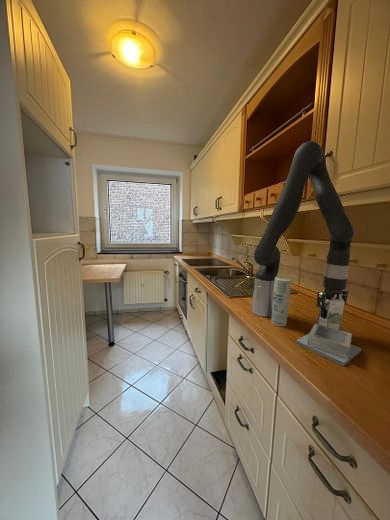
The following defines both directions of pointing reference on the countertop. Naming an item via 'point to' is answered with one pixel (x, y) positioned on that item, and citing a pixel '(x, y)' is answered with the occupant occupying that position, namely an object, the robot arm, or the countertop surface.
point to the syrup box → (332, 314)
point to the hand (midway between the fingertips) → (329, 316)
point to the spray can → (281, 301)
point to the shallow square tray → (330, 340)
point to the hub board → (337, 359)
